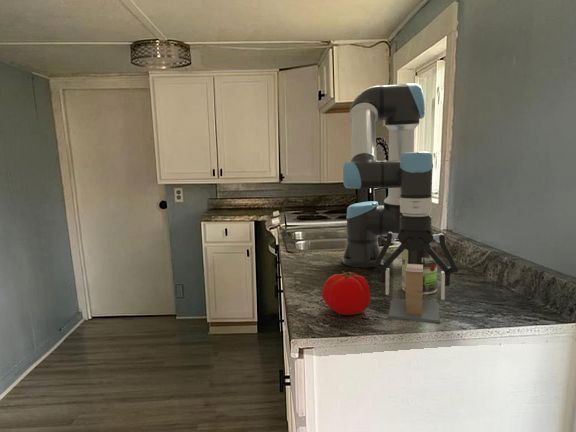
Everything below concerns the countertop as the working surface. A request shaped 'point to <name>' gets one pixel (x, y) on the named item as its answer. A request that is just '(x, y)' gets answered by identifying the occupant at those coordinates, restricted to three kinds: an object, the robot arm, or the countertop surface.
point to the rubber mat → (428, 314)
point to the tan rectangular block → (414, 288)
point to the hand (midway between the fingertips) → (414, 295)
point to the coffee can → (428, 268)
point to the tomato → (346, 293)
